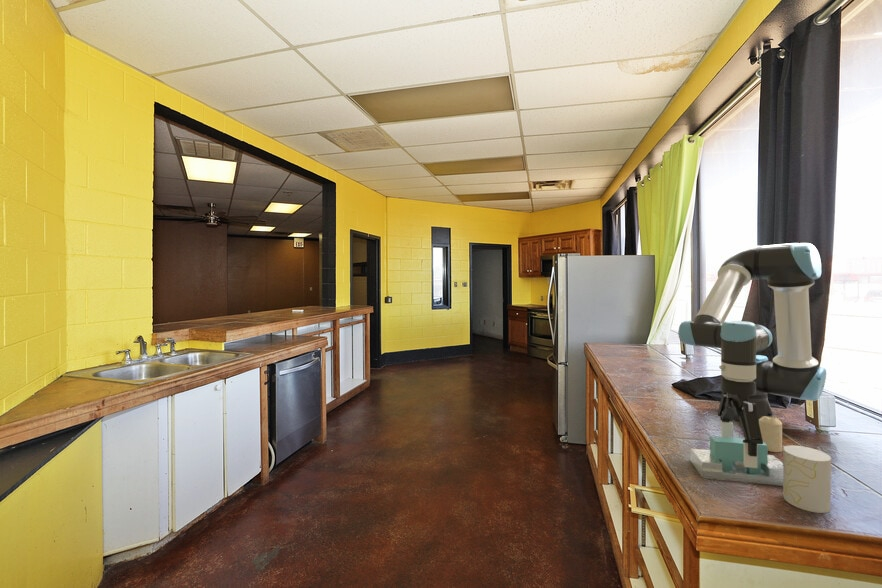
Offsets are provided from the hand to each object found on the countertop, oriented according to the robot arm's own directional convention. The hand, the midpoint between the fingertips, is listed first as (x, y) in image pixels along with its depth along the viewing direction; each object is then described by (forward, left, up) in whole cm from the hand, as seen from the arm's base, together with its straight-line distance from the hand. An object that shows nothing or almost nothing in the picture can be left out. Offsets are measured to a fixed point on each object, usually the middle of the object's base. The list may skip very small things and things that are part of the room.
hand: (738, 455), depth 105 cm
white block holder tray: (0, 0, -5) cm, 5 cm away
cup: (-9, +12, -5) cm, 16 cm away
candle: (-16, -19, -5) cm, 25 cm away
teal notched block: (0, 0, -4) cm, 4 cm away
